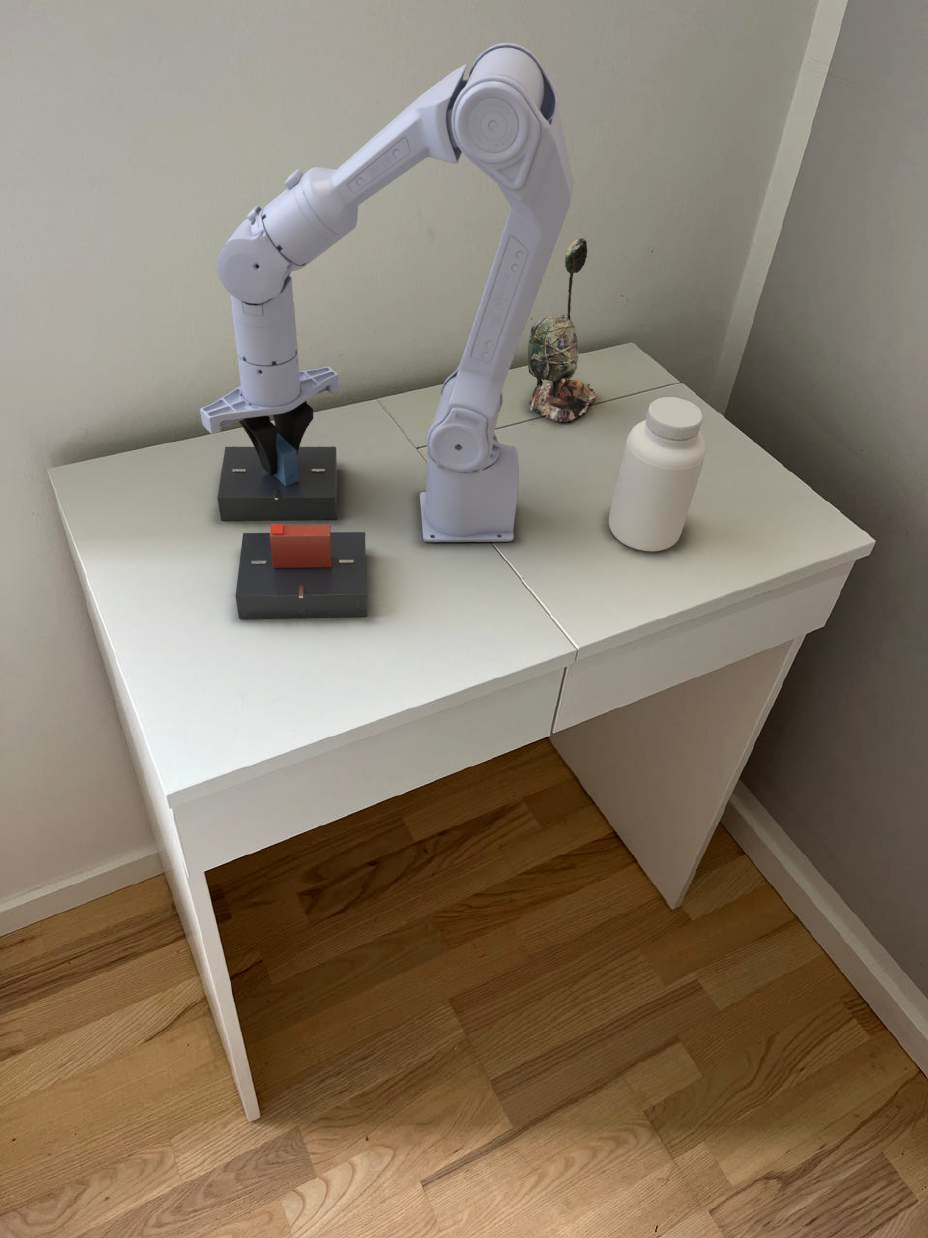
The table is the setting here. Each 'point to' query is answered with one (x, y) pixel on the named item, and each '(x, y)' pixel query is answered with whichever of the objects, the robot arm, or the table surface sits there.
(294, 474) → the cold tap
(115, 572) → the table surface
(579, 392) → the plant with pod
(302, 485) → the panel
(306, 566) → the block
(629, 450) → the pill bottle
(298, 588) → the hot tap panel
